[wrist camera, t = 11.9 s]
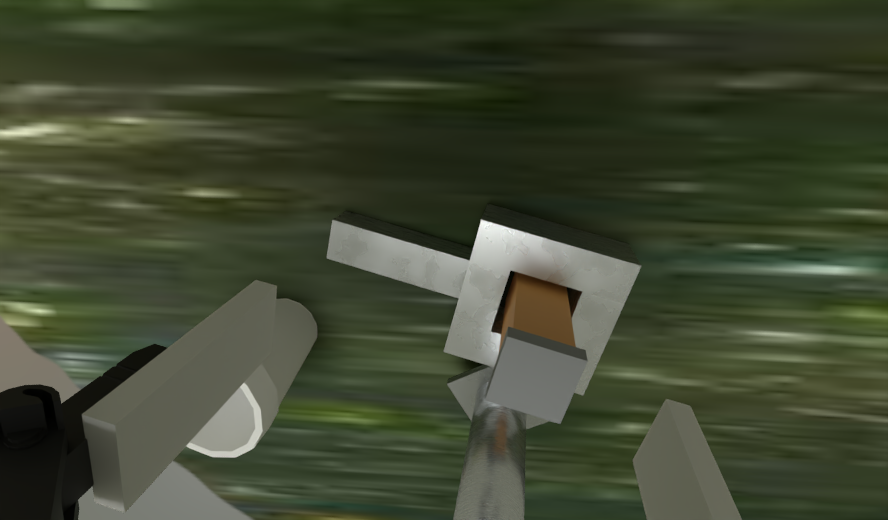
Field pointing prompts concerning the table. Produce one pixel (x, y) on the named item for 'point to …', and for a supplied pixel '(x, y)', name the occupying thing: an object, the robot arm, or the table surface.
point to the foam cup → (261, 387)
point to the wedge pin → (536, 351)
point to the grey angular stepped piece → (496, 320)
